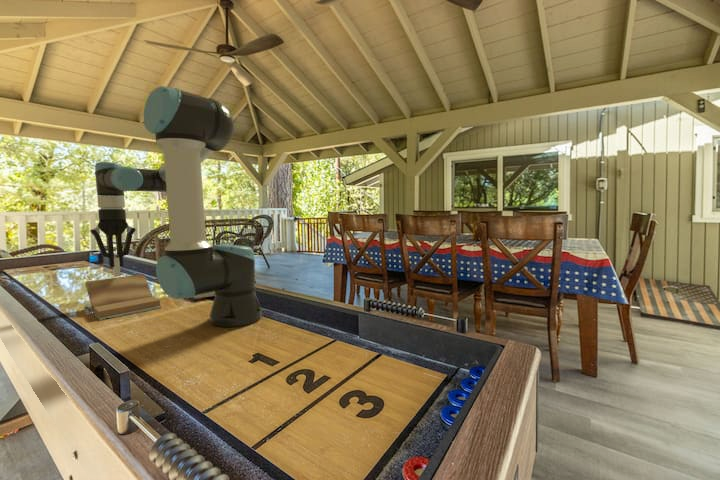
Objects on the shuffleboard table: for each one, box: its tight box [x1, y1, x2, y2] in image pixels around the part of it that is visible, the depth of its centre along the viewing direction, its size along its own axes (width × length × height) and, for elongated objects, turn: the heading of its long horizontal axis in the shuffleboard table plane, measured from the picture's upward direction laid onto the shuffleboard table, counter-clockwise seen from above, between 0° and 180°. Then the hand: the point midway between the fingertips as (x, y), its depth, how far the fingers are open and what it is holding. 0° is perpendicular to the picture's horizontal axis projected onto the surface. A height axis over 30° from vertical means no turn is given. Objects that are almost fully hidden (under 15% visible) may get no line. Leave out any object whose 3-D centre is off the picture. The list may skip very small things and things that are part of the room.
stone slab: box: [187, 291, 215, 302], centre depth 136 cm, size 10×3×30 cm
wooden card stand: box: [85, 296, 162, 321], centre depth 116 cm, size 21×17×3 cm
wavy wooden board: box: [85, 273, 154, 310], centre depth 118 cm, size 11×17×2 cm
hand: (117, 275), depth 119 cm, fingers closed
